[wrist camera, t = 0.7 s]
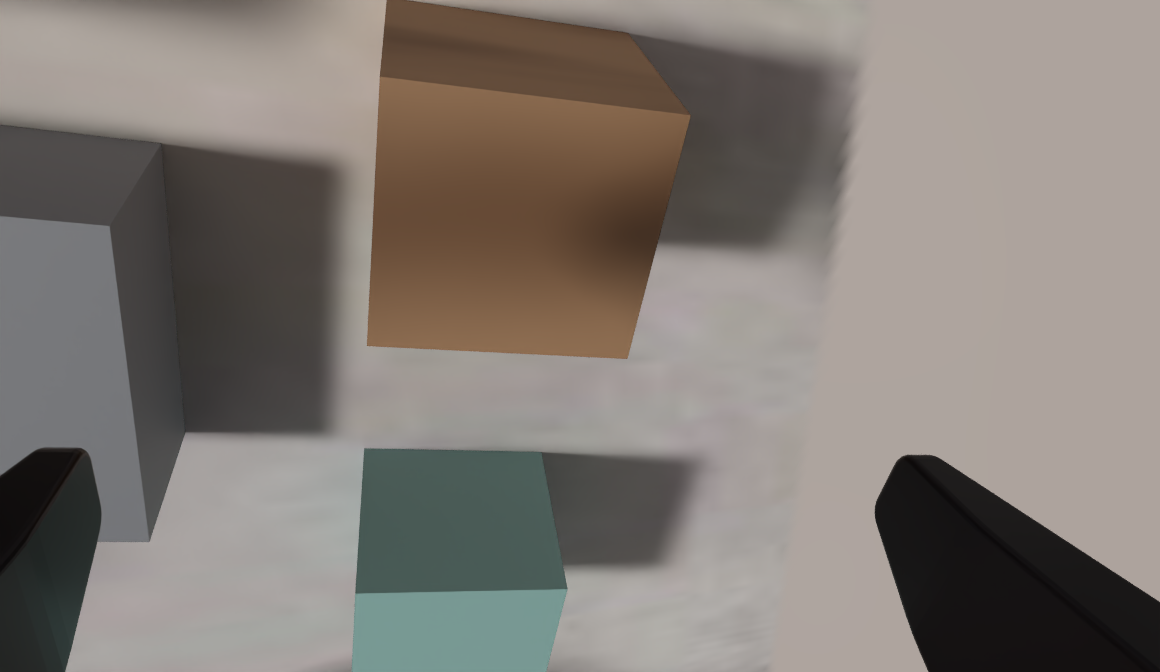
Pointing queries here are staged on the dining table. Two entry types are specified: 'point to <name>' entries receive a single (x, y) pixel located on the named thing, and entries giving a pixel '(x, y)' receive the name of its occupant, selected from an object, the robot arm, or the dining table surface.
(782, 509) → the dining table surface
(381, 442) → the dining table surface
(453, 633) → the teal cube
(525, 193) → the walnut cube
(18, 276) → the slate base block
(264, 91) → the dining table surface
